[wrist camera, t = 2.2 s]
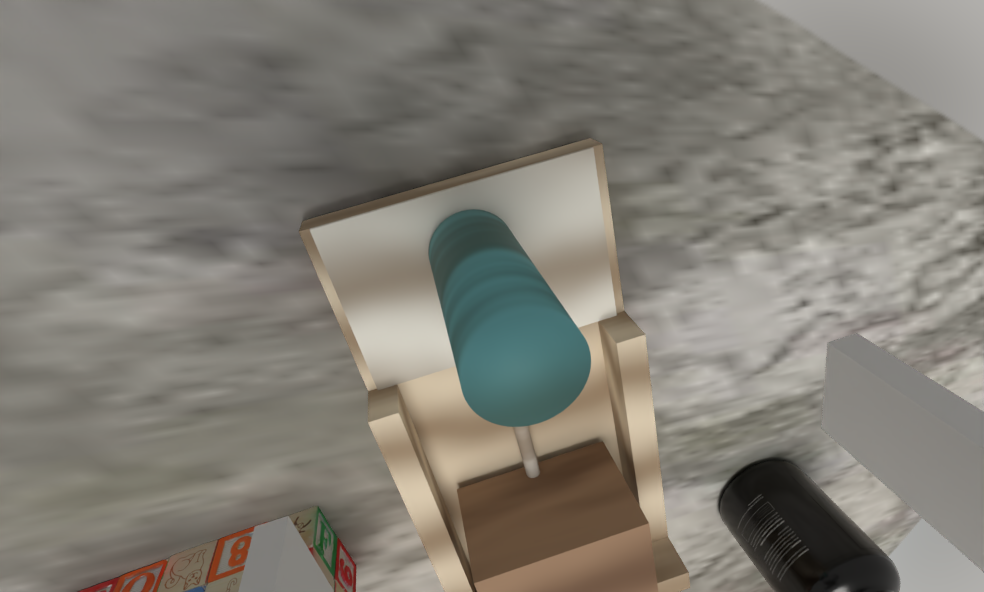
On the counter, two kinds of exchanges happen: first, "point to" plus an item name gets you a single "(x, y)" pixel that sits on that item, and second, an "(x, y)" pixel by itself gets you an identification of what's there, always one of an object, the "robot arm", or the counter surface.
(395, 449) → the lane board
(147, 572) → the stack of blocks
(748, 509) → the supplement bottle
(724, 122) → the counter surface
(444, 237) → the brown teal long piece
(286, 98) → the counter surface
